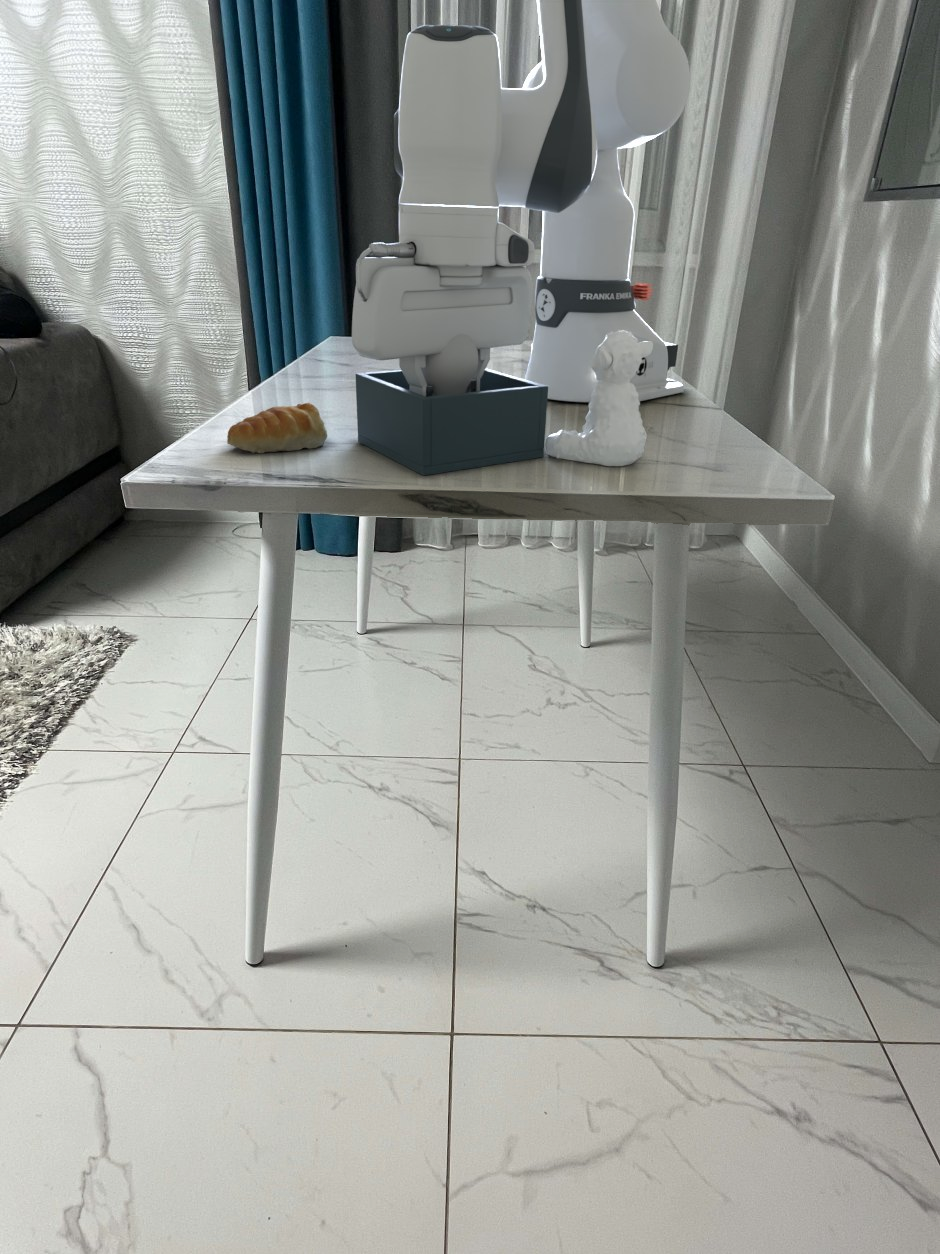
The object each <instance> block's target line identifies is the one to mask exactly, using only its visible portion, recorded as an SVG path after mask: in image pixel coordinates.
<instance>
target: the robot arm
mask: <svg viewBox="0 0 940 1254" xmlns="http://www.w3.org/2000/svg"><path fill="white" fill-rule="evenodd" d="M536 5H537V14H538V15H537V16H538V26H539V36H540V37H539V39H540V50H541V61H540V62H539V63H538V64H537V65H536V66H535V67H534V68H533V69H532V70H531V71H530V73H529V74H528V75H527V77H526V79H525V81H524V83H523V85H522V88H509V87H508V88H507V87H502V86H503V85H502V70H501V59H500V58H501V57H500V47H499V41H498V36H497V35H496V34H495V33H494V32H492V31H491V30H490V29H489V28H487V27H484V26H481V25H459V24H457V25H456V24H434V25H433V24H423V25H419V26H417V27H415V28H414V29H413V30H411V31H409V32H408V34H407V35H406V39H405V45H404V51H403V59H402V66H401V75H400V76H401V78H400V86H399V101H398V102H399V104H398V109H397V110H396V112H395V113H394V115H393V162H394V169H395V172H396V173H397V174H398V175H399V176H400V178H401V179H402V184H401V189H400V193H399V197H398V242H394V243H393V242H392V243H384V242H373V243H370V244H368V245H369V246H368V248H366V249H365V250H364V251H362V253H361V254H360V255H359V257H358V258H357V259H356V263H355V282H356V283H355V287H354V294H353V295H354V297H353V303H352V305H353V307H352V318H351V319H352V320H351V344H352V347H353V348H354V350H355V351H356V353H357V354H358V355H359V356H360V357H362V358H367V359H371V360H376V361H388V360H397V359H398V360H399V362H398V363H399V368H400V370H402V372H403V374H404V376H405V378H406V380H407V382H408V384H409V391H412V392H415V393H417V394H420V395H423V396H426V397H429V396H432V394H433V385H429V384H426V381H425V378H424V376H423V373H422V370H421V368H425V367H426V355H433V354H439V353H441V352H442V351H443V349H444V348H445V346H446V345H447V343H448V342H449V341H450V340H451V338H452V337H454V336H456V335H458V334H466V335H468V336H469V337H471V338H472V340H473V341H474V343H475V344H476V347H477V351H478V365H477V369H476V372H475V374H474V376H473V378H472V380H471V382H470V383H469V385H468V387H467V389H466V391H465V393H468V392H478V391H480V378H481V377H482V375H483V373H484V371H485V369H487V367H488V364H489V363H490V360H491V349H495V348H502V347H510V346H511V347H512V346H519V345H522V344H523V343H524V342H525V340H526V339H527V337H528V335H529V333H530V329H531V321H532V308H533V307H532V306H533V280H532V275H531V272H530V271H529V269H528V268H527V267H529V266H530V265H532V264H533V262H534V259H535V252H536V250H535V249H536V247H535V243H534V242H533V241H532V240H531V239H529V238H527V236H524V235H522V234H521V233H519V232H517V231H515V230H514V229H512V228H511V227H509V226H507V225H506V224H505V223H503V222H499V213H500V212H499V211H500V209H499V207H518V208H519V207H520V208H521V207H522V208H525V210H526V209H527V210H532V211H533V210H534V211H539V212H540V211H541V212H542V229H541V231H542V232H541V251H540V253H541V254H540V273H539V275H538V276H537V277H536V283H535V293H534V294H535V295H534V312H535V313H534V315H535V328H534V335H533V339H532V340H533V341H532V343H531V345H530V347H531V348H530V350H531V352H530V357H529V361H528V365H527V369H526V373H525V376H524V379H525V380H528V381H532V382H535V383H539V384H542V385H546V386H548V399H547V400H553V401H561V402H572V403H573V402H574V403H590V402H591V395H592V393H593V390H594V389H595V384H596V383H598V381H597V379H596V374H595V371H594V370H593V369H592V368H591V364H592V362H593V359H594V357H595V354H596V350H597V347H598V346H599V345H601V344H602V343H603V342H604V340H605V338H606V335H607V334H608V333H610V334H611V333H612V332H617V331H622V330H624V331H626V332H627V333H632V335H633V336H634V337H635V338H637V339H638V343H640V342H643V341H652V343H653V349H652V352H651V354H650V355H648V356H646V357H643V358H642V361H641V364H640V366H639V369H638V370H637V371H636V373H635V375H634V377H632V378H631V379H630V383H632V384H634V386H635V388H636V391H637V392H638V395H639V396H638V400H639V402H644V401H649V400H653V399H658V398H662V397H666V396H672V395H675V394H680V393H684V385H683V384H682V383H681V382H679V381H676V380H675V379H672V378H668V372H669V371H670V368H675V367H676V365H677V357H678V351H679V350H678V349H679V344H675V343H671V342H666V341H664V340H663V338H661V337H660V336H659V335H658V334H657V333H656V332H655V331H654V330H653V329H652V328H651V327H650V325H648V323H646V321H645V320H644V319H643V318H642V317H641V316H640V315H639V314H638V313H637V312H636V310H635V309H636V308H637V305H636V301H635V300H641V301H649V300H650V299H651V297H652V296H653V294H652V293H654V291H653V287H652V284H651V283H642V282H636V283H635V284H634V285H633V284H632V281H631V280H630V278H629V274H630V273H629V272H630V264H631V263H630V262H631V253H632V245H633V244H632V243H633V236H634V235H633V234H634V226H635V225H634V224H635V209H634V206H633V203H632V201H631V200H630V198H629V197H628V195H627V194H626V192H625V189H624V186H623V182H622V179H621V178H622V177H621V172H620V165H619V153H618V152H619V151H618V150H619V149H628V148H634V147H637V146H640V145H642V144H644V143H647V142H648V141H651V140H653V139H655V138H656V137H658V136H660V135H661V134H664V133H665V132H667V131H668V130H670V129H671V127H673V126H674V125H675V123H676V122H678V119H680V117H681V115H682V113H683V111H684V109H685V107H686V104H687V101H688V98H689V93H690V87H691V70H690V63H689V59H688V57H687V56H688V55H687V53H686V51H685V49H684V47H683V45H682V44H681V42H680V41H679V40H678V39H677V38H676V37H675V35H673V34H672V32H671V31H670V30H669V28H668V27H667V25H666V23H665V20H664V19H663V16H662V13H661V11H660V8H659V4H658V1H657V0H536ZM368 256H370V257H368Z"/></svg>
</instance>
